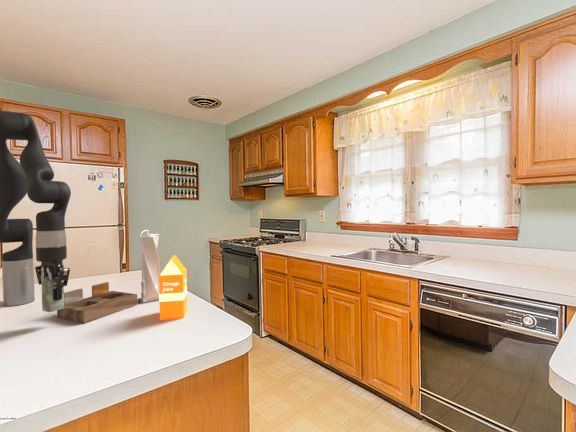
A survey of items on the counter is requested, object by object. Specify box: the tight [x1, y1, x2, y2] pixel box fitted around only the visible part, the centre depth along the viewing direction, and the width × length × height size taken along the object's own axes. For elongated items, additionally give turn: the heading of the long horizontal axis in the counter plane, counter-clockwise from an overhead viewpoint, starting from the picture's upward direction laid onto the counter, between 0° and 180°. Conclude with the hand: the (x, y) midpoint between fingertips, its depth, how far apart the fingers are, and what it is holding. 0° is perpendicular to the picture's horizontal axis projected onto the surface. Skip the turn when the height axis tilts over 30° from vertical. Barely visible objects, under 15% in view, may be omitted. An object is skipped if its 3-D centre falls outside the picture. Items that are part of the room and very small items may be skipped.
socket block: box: [56, 281, 139, 324], centre depth 108 cm, size 14×20×8 cm
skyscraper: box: [137, 229, 161, 305], centre depth 121 cm, size 8×8×28 cm
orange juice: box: [158, 254, 188, 321], centre depth 103 cm, size 8×9×20 cm
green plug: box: [41, 277, 65, 313], centre depth 94 cm, size 4×4×10 cm
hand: (53, 298), depth 94 cm, fingers closed on green plug, 4 cm apart
